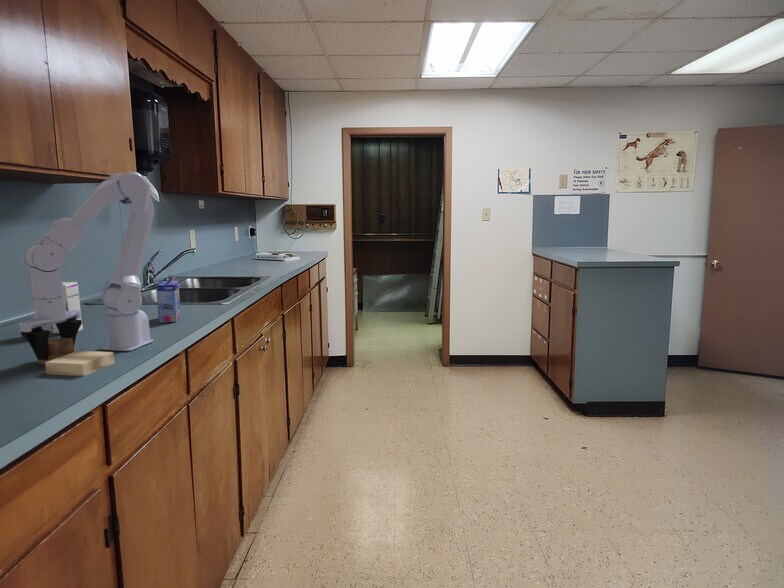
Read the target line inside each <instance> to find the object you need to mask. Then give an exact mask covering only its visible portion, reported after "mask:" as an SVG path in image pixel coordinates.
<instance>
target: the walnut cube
mask: <svg viewBox="0 0 784 588" xmlns="http://www.w3.org/2000/svg"><path fill="white" fill-rule="evenodd" d="M73 352H75V345H74V346H73V338H61V337H50V338H48V359H47V360H38V359H37V364H39V365H45V362H47V361H50V360H53V359H56V358H59V357H62V356H64V355H67V354H70V353H73Z"/></svg>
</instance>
